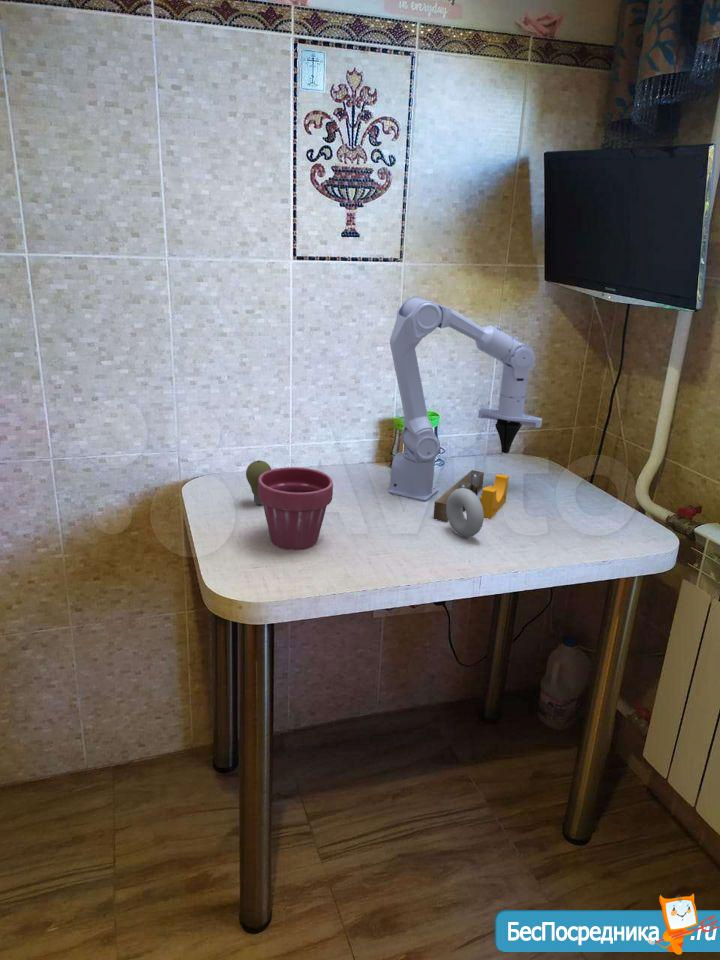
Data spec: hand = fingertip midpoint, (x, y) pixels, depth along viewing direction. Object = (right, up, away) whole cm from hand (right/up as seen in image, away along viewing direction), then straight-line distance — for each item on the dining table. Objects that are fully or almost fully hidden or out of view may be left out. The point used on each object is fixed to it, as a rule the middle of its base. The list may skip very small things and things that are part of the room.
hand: (505, 451), depth 168 cm
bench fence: (-12, -12, -6) cm, 18 cm away
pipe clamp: (-5, -13, -8) cm, 16 cm away
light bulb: (-56, -12, -13) cm, 59 cm away
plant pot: (-47, -19, -29) cm, 58 cm away
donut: (-13, -18, -23) cm, 32 cm away
